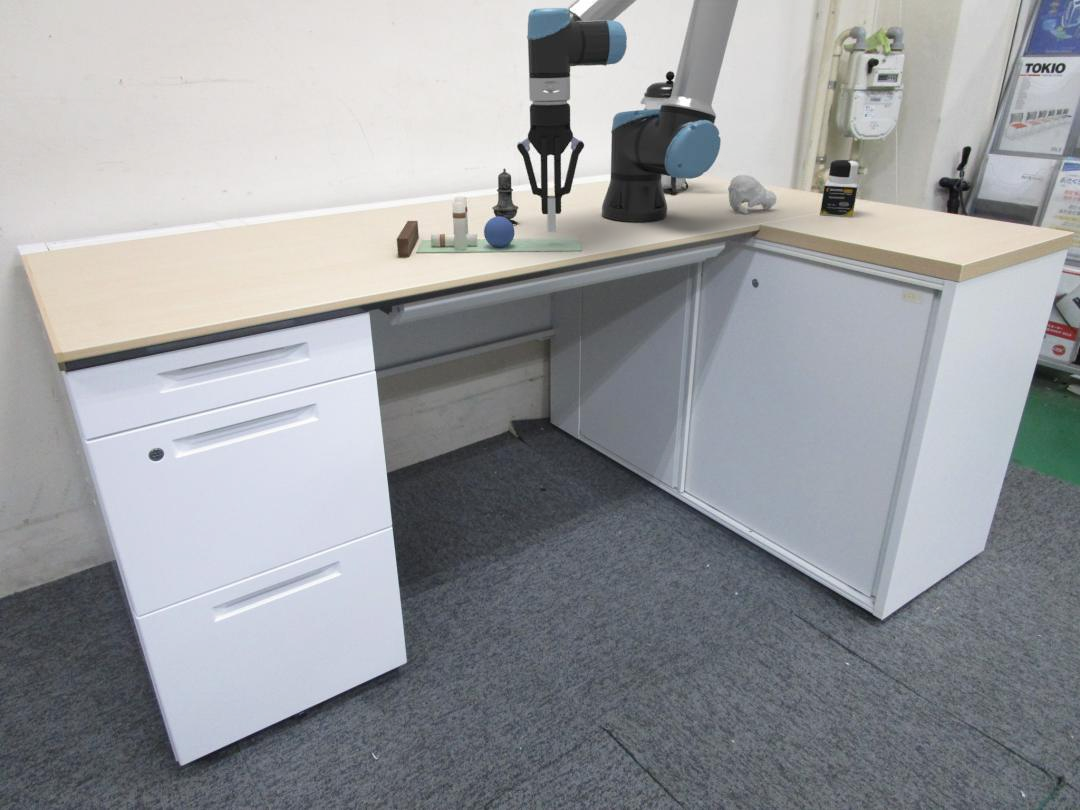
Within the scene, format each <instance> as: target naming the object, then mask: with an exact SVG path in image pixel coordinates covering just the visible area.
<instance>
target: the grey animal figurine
mask: <svg viewBox="0 0 1080 810" xmlns="http://www.w3.org/2000/svg"><path fill="white" fill-rule="evenodd" d="M727 191H728V200H729V201H728V202H729V204H730V207H731V209H732V210H734V211H738V212H739V213H740V214H742V215H747V214H748V210H747V209H746V207H744V206H743V204H745V203H747V208H748V209H751V208H753V207H756V206H762V207H761V209H763V211H770V210H771V209H772V207H773V206H774V205H776V203H777V195H776V194H775V192H773V191H772V190H768V189H766V188H765V187H764V185H763V184H761V182H760V181H759V180H758V179H756V178H755V177H753V176H751V175H747V174H738V175H735V176H734V177H732V179H731V180H730V183H729V186H728V187H727Z"/></svg>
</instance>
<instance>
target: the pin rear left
mask: <svg viewBox="0 0 1080 810" xmlns="http://www.w3.org/2000/svg"><path fill="white" fill-rule="evenodd" d="M451 205H452V206H451V207H452V220H453V221H452V223H453V234H454V243H455V249H456V250H466V249H467V237H466V212H465V202H455V201H453V202H452V204H451Z"/></svg>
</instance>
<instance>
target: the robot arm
mask: <svg viewBox="0 0 1080 810" xmlns="http://www.w3.org/2000/svg"><path fill="white" fill-rule="evenodd" d="M636 1H637V0H575V1H573V3H572V4H570V5H569V6H568V7H545V8H543V7H541V8H533V9H531V10H530V11H529V14H528V17H527V18H528V20H527V35H526V39H527V51H528V52H527V53H528V54H527V55H528V76H529V77H528V90H529V91H528V93H529V101H530V102H532V104H530V106H529V131H528V133H527V137H526V138H525V139H524V140H522V141H519V142H517V145H516V147H517V150H518V152H519V153H520V154H521V156H522V159H523V162H524V166H525V170H526V173H527V177H528V180H529V181H528V182H529V185H530V188H531V192H532V194H533V195H534V196H535V195H536V196H538V197H540V200H541V213H542V215H547V217H546V218H547V232H548V233H556V232H557V228H556V227H557V226H556V222H557V221H556V218H557V216H556V215H559V214H561V213H562V197H563V196H565V195H568V194H570V193H571V190H572V186H573V182H574V178H575V173H576V169H577V165H578V160H579V156H580V153H582V151H583V150H584V147H585V143H584V142H583V141H582V140H579V139H578V138H576V137H575V136H574V133H573V131H572V129H571V105H570V104H569V103H568V101H570V100H571V67H576V66H577V67H579V66H586V67H588V66H604V67H605V66H608V65H615V64H617V63H619V62H621V60H622V59H623V58H624V56H625V54H626V50H627V48H628V47H627V42H628V41H627V39H628V36H627V32H626V29H625V27H624V25H623V24H622V23H621V22H619V21H617V20H616V18H618V17H619V16H620V15H622V14H623V13H624V12H625V11H626V10H627V9H629V7H630V6H632V5H633V4H634V3H635V2H636ZM738 3H739V0H693V3H692V8H691V11H690V16H689V20H688V24H687V28H686V32H685V37H684V42H683V45H682V49H681V53H680V57H679V60H678V61H679V62H678V65H677V69H676V75H675V76H674V80H673V82H674V85H673V89H672V94H671V97H670V98H669V99H668V100H667V101H665V102H664V103H662V104H661V108H660V109H649V110H644V109H639V110H627V111H622V112H621V111H620V112H618V113H616V114H615V115H614V116H613V118H612V127H611V146H610V147H611V153H610V156H611V157H610V181H609V185H608V187H607V191H606V194H605V196H604V199H603V203H602V205H601V216H602V217H603V218H605V219H608V220H613V221H618V222H619V221H620V222H633V223H635V222H653V221H659V220H663V219H665V218H667V216H668V203H667V200H666V196H665V192H664V188H663V187H662V183H661V177H662V174H663V175H668V176H672V177H675V178H686V179H691V180H692V179H697V178H699V177H701V176H702V175H704V173H706V172H708V171H709V170H710V169H711V167H712V166H713V165H714V163H715V162H716V160H717V158H718V155H719V153H720V150H721V143H722V142H721V137H720V131H719V128H718V127H717V126H716V125H715V123H716V118H717V115H716V113H715V111H714V108H713V106H712V104H713V101H714V96H715V93H716V90H717V89H716V88H717V84H718V81H719V78H720V73H721V69H722V65H723V61H724V58H725V53H726V49H727V46H728V43H729V38H730V35H731V30H732V28H733V27H732V26H733V24H734V23H733V22H734V20H735V15H736V11H737V9H738V8H737V7H738ZM570 143H571V145H570ZM530 144H531V145H532V147H533V148H534V149H535V150H536V152H537V154H538V155H540V187H538V184H537V179H536V176H535V172H534V168H533V163H532V161H531V156H530V153H529V152H530V150H531V147H530ZM569 145H570V149H571V150H572V151H571V153H570V159H569V163H568V167H567V172H566V176H565V179H564V184H563V185H564V186H563V187H562V154H563V153H564V152H565V150H566V149H567V148H568V146H569ZM548 156H553V175H554V176H553V180H554V181H553V182H554V183H553V185H554V188H553V189H554V190H553V191H554V195H549V193H548V192H549V191H548V190H549V188H548V185H549V184H548V183H549V181H548V180H549V179H548Z"/></svg>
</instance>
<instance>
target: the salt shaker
mask: <svg viewBox="0 0 1080 810" xmlns="http://www.w3.org/2000/svg"><path fill="white" fill-rule="evenodd" d="M502 171H503V172H501V173H499V174H498V176H497V178H498V179H497V180H498V183H497V185H498V189H496V191H497V193H498V194H497V195H498V199H497V204H496V205H494V206H492V208H491V209H492V211H493V213H494V217H498V216H500V217H504V218H507V219H508V220H509V221H510V222H511V223H512V225H513V224H516V223H517V224H518V221H516V220H514V218H515V217H516V216H517V214H518V210H519V206H518V205H516V204H514V201H513V191H514V189H513V188H512V175H511V174H510V173H508V172H507V170H506V168H503V169H502ZM517 224H516V225H517ZM513 226H514V225H513Z"/></svg>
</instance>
